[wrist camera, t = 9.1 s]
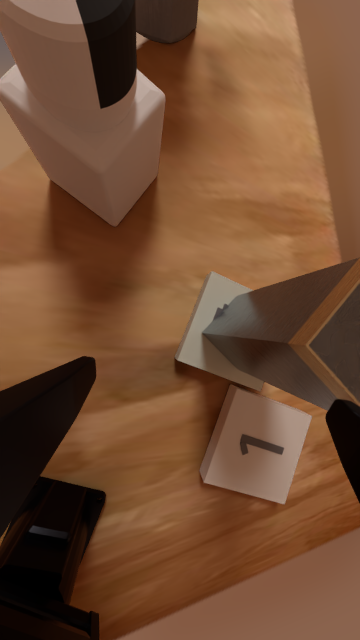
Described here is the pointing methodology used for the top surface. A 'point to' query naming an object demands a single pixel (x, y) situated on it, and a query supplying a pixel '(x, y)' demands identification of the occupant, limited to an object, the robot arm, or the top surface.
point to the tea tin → (298, 334)
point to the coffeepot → (166, 19)
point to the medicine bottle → (83, 98)
